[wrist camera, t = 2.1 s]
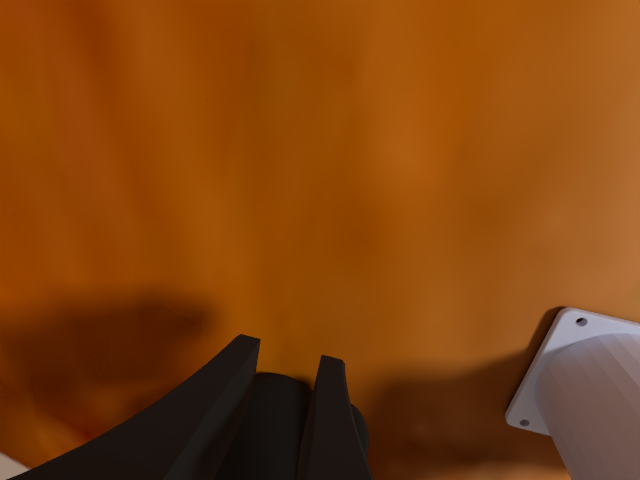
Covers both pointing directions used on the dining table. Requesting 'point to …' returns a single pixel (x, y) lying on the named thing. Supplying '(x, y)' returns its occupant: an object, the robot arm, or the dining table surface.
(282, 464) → the mug
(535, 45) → the dining table surface
